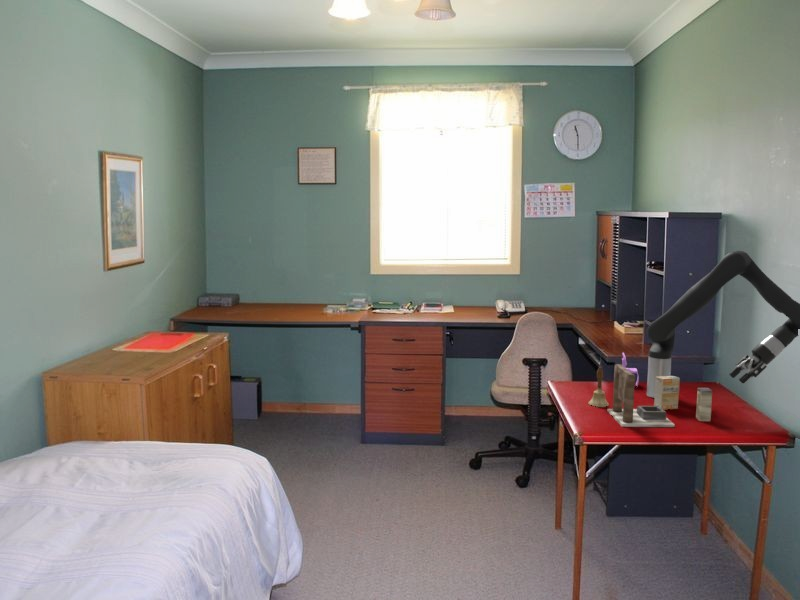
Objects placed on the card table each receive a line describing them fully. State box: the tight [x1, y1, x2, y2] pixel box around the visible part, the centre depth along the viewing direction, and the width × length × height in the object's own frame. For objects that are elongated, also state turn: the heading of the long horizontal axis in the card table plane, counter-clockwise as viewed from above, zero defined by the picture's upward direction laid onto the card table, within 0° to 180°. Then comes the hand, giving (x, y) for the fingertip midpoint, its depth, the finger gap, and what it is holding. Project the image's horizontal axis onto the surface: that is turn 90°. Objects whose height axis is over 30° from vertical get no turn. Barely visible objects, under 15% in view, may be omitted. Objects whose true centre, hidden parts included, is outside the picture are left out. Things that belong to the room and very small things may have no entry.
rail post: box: [695, 387, 713, 422], centre depth 279 cm, size 4×4×12 cm
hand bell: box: [587, 366, 610, 408], centre depth 299 cm, size 8×8×16 cm
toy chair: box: [621, 352, 640, 388], centre depth 332 cm, size 8×9×15 cm
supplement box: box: [653, 375, 681, 411], centre depth 294 cm, size 8×5×13 cm, turn 106°
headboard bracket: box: [607, 363, 675, 428], centre depth 279 cm, size 20×20×19 cm
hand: (735, 378), depth 278 cm, fingers open, 8 cm apart
